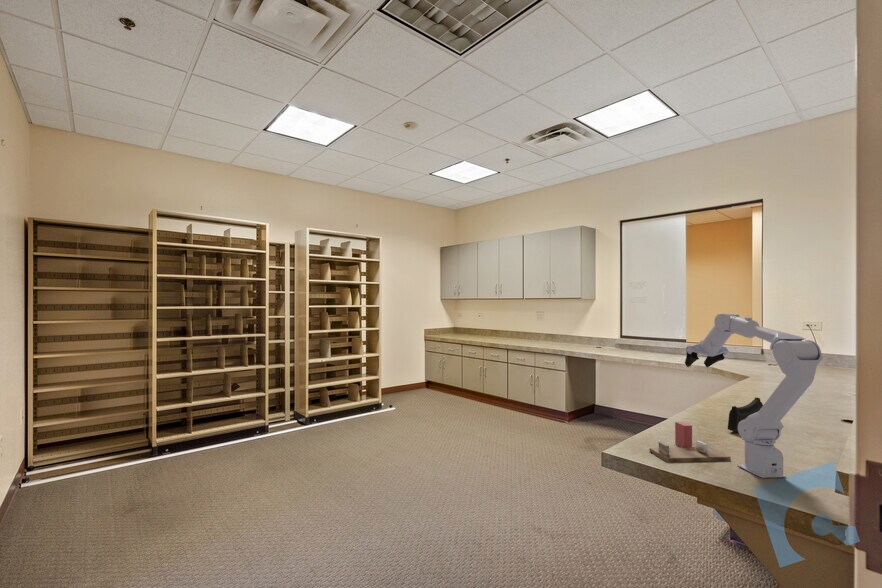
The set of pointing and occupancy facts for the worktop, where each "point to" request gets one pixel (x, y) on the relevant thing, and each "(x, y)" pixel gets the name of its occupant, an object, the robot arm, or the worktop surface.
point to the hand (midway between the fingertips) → (696, 365)
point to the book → (683, 434)
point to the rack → (687, 454)
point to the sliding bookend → (701, 447)
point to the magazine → (742, 413)
